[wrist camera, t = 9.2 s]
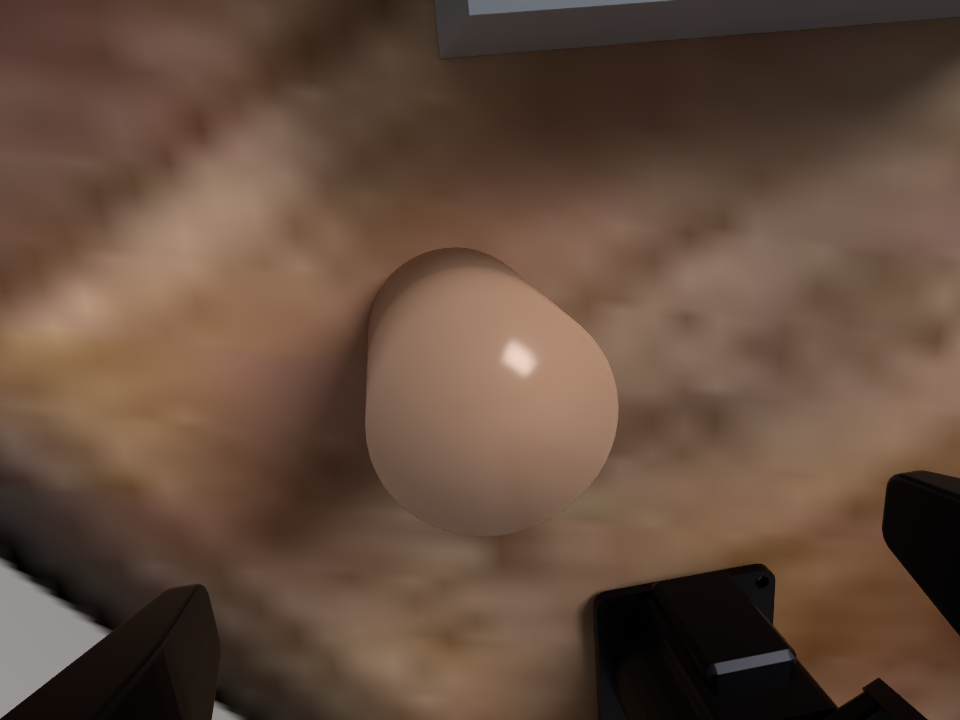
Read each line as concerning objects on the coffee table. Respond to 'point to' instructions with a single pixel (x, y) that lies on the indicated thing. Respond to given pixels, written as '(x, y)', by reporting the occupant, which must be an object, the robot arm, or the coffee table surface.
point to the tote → (650, 20)
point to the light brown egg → (482, 396)
